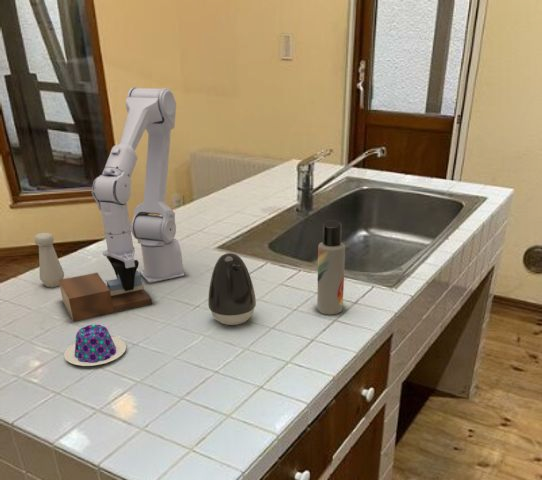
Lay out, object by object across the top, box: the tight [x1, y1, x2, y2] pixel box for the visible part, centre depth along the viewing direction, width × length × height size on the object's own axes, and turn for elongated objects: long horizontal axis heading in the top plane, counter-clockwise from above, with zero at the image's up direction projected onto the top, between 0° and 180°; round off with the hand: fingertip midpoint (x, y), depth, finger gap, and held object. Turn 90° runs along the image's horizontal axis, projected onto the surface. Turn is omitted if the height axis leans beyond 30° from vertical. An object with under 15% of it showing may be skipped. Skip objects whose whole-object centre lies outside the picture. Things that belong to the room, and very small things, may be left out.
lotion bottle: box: [316, 219, 346, 316], centre depth 131 cm, size 6×6×20 cm
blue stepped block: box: [105, 269, 145, 296], centre depth 142 cm, size 8×3×4 cm, turn 117°
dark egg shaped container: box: [207, 252, 257, 326], centre depth 129 cm, size 10×10×15 cm
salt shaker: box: [34, 232, 65, 288], centre depth 149 cm, size 6×6×13 cm
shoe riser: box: [59, 272, 153, 322], centre depth 140 cm, size 18×12×6 cm, turn 117°
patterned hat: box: [63, 324, 127, 367], centre depth 120 cm, size 12×12×5 cm
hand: (126, 286), depth 142 cm, fingers closed on blue stepped block, 3 cm apart
